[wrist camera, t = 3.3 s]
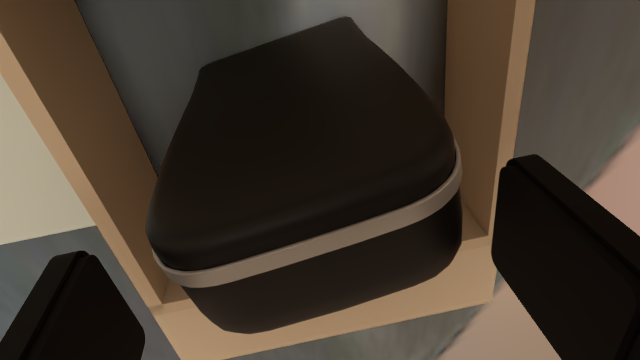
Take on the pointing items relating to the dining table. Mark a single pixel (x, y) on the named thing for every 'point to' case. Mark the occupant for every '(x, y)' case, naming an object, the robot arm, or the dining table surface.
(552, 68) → the dining table surface
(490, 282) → the carton
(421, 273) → the battery charger
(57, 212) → the mat
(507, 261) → the robot arm
